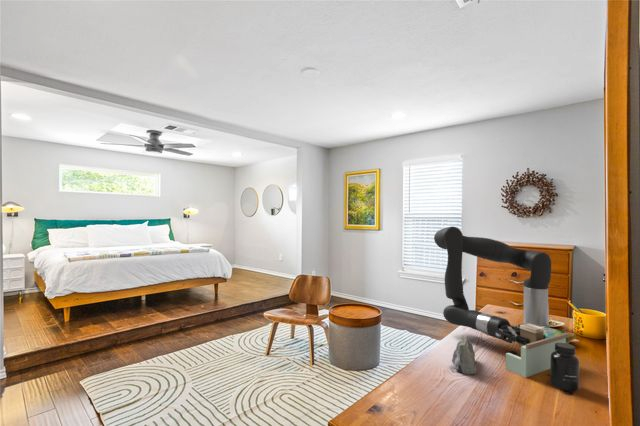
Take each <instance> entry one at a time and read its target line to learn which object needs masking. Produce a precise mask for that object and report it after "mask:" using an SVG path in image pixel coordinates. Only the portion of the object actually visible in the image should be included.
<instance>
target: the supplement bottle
mask: <svg viewBox="0 0 640 426" xmlns="http://www.w3.org/2000/svg"><path fill="white" fill-rule="evenodd" d="M576 353H577V352H576V346H574V345H572V344H570V343H569V344H567V343H560V342H558V343H555V351H554V352H552V354H551V364H550V369H549V370H550V371H549V372H550V373H549V376H550V377H549V382H550V384H551V385H552V386H553V387H554V388H556V389H559V390H560V391H561V390H562V391H564V392H569V393H571V392H572V393H573V392H578V390H579V387H580V360H579V359H580V358H578V356H577V355H576Z"/></svg>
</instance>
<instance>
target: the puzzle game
mask: <svg viewBox="0 0 640 426" xmlns="http://www.w3.org/2000/svg"><path fill="white" fill-rule="evenodd" d="M542 328H544V335H545V336H546V338H550V337H553V336H557V335H560V334H564V333H568V337H567V338H566V343H567V344H570V342H571V341H574V340H576V339H577V335H576V334H572V333H569V332H566V331H562V330H558V329H555V328H551V327H549V326H548V327H545V326H542ZM518 344H519V345H520V343H518Z"/></svg>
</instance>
